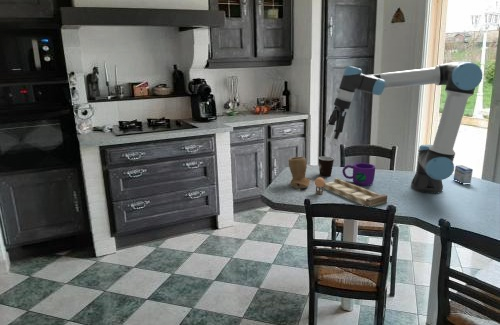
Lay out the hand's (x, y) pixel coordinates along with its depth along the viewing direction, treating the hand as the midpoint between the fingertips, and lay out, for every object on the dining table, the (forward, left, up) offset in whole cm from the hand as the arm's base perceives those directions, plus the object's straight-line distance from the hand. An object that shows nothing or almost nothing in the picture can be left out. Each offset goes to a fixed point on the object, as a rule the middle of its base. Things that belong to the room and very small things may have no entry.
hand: (329, 140), depth 193 cm
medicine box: (-29, -71, -27) cm, 81 cm away
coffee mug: (+21, -18, -26) cm, 39 cm away
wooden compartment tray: (-10, -7, -26) cm, 29 cm away
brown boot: (+15, +6, -27) cm, 31 cm away
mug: (+1, -23, -27) cm, 35 cm away
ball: (-1, +6, -20) cm, 21 cm away
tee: (-1, +6, -26) cm, 27 cm away
